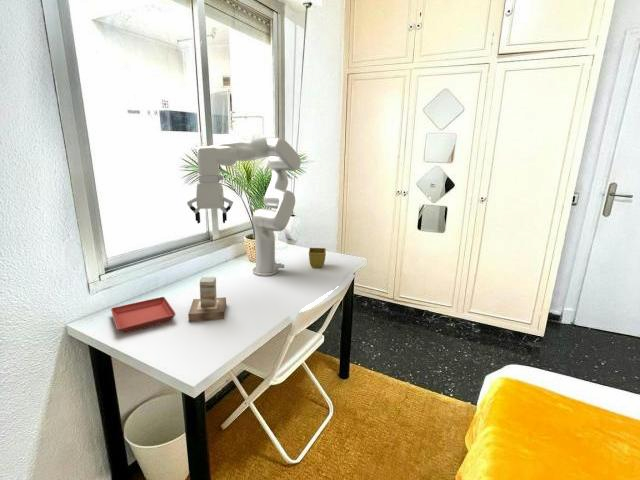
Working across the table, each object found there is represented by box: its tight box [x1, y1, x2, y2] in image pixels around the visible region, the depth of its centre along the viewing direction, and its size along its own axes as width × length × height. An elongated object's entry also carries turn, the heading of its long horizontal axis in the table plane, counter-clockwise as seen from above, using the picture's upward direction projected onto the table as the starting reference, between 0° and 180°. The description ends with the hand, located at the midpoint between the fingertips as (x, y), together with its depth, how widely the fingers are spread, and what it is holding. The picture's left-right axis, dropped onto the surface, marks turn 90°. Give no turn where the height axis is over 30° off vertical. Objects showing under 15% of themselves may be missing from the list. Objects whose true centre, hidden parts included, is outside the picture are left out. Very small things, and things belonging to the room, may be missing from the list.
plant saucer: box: [110, 296, 177, 334], centre depth 120 cm, size 18×18×3 cm
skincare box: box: [199, 276, 217, 307], centre depth 123 cm, size 5×4×10 cm
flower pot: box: [308, 247, 327, 269], centre depth 176 cm, size 9×9×9 cm
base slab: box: [187, 297, 227, 323], centre depth 125 cm, size 12×12×3 cm
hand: (211, 222), depth 134 cm, fingers open, 9 cm apart
